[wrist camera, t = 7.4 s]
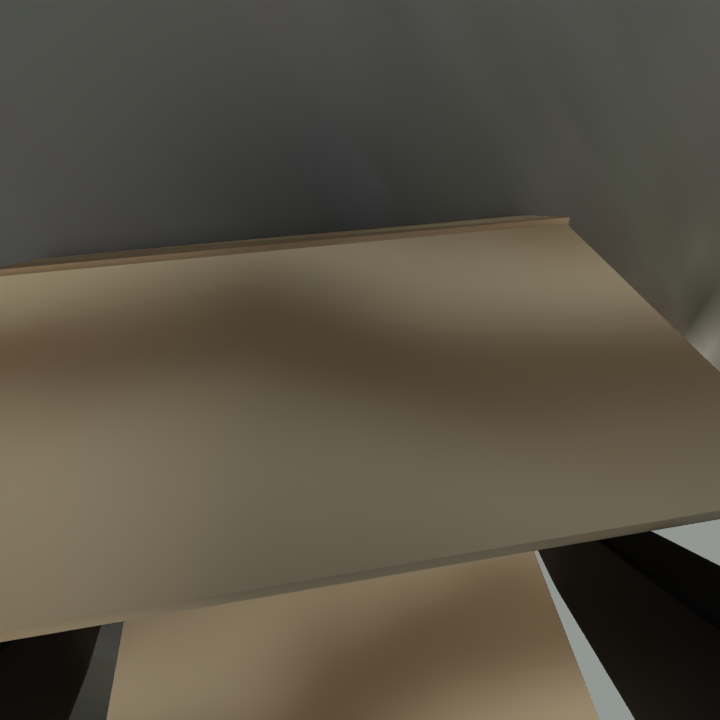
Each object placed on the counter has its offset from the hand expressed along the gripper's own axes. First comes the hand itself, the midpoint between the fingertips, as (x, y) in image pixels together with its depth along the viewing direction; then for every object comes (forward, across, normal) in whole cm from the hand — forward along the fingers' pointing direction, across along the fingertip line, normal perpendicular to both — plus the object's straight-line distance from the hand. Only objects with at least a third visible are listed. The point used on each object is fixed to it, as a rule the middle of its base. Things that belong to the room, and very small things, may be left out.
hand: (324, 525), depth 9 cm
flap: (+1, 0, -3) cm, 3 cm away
